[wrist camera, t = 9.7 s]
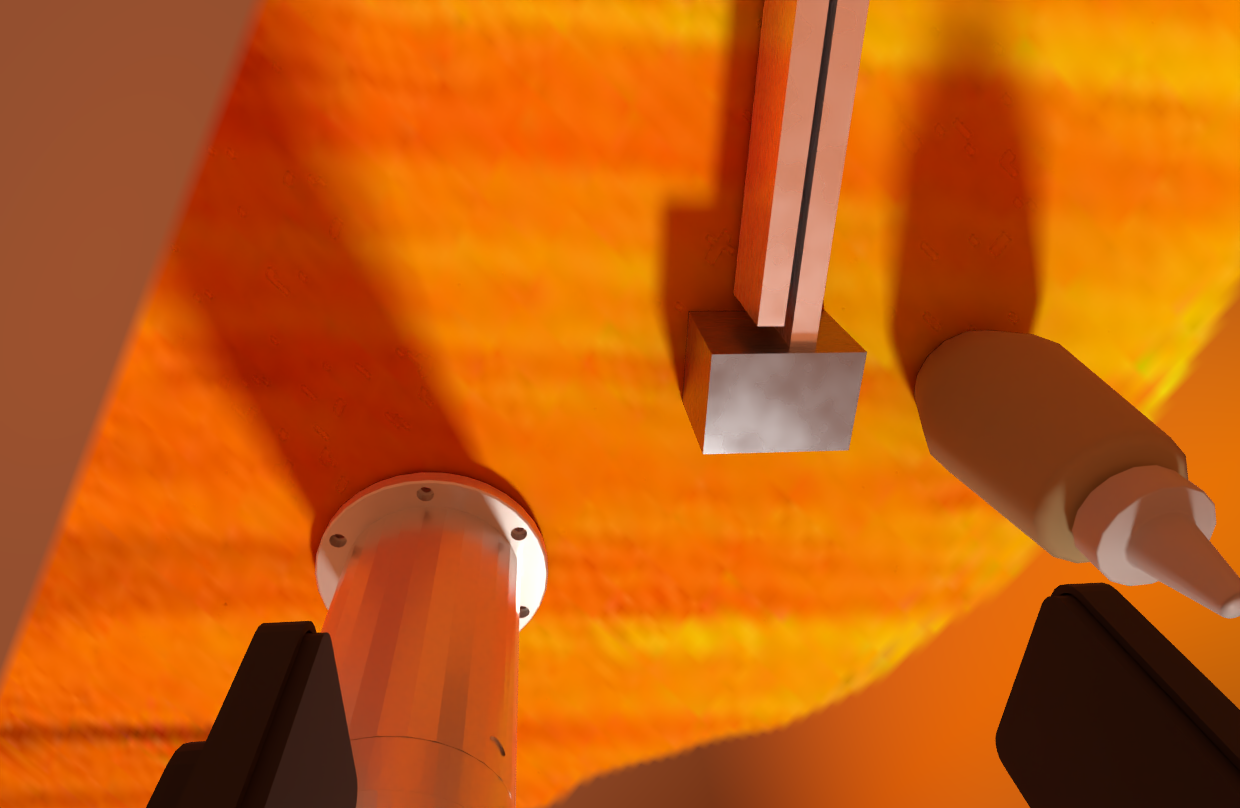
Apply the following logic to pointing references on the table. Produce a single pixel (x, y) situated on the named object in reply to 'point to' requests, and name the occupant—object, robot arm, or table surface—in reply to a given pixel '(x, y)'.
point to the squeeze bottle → (1071, 463)
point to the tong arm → (778, 154)
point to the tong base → (789, 305)
